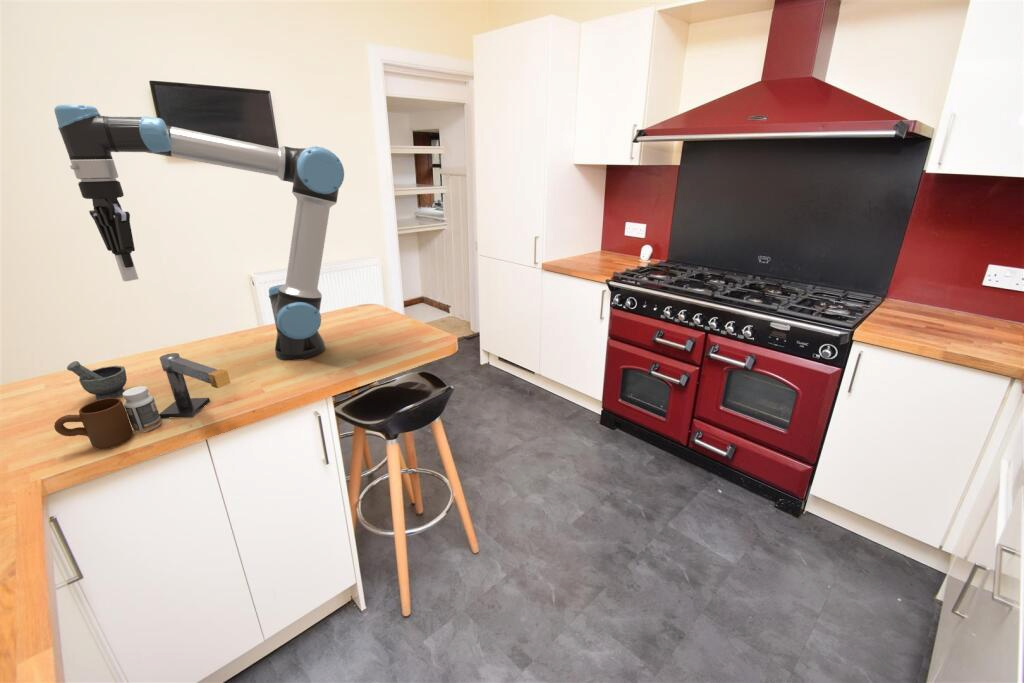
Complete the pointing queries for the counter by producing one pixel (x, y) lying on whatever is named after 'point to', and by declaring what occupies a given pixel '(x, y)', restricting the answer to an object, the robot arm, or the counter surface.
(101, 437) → the mug
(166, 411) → the post
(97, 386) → the mortar and pestle
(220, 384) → the bar
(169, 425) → the counter surface
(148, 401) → the pill bottle
